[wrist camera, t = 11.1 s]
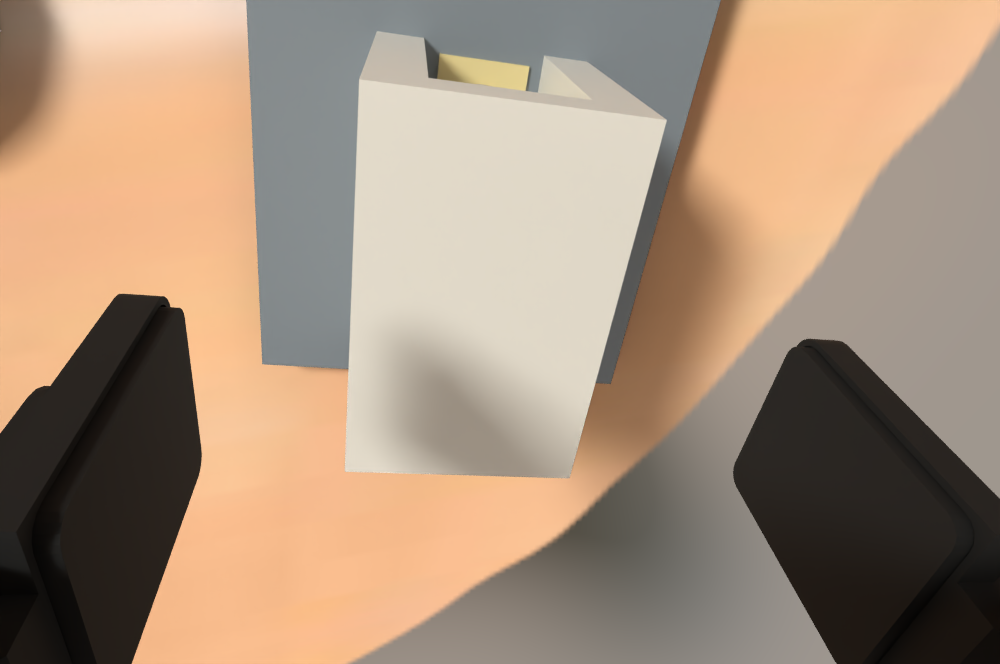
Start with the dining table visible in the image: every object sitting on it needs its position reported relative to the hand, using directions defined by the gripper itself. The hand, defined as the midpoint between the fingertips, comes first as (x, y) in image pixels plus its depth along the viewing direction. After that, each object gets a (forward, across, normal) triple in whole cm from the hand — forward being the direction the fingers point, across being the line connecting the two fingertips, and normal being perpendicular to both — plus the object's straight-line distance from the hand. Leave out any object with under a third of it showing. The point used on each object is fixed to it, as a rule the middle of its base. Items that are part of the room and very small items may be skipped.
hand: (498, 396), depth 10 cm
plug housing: (+10, 0, +1) cm, 10 cm away
